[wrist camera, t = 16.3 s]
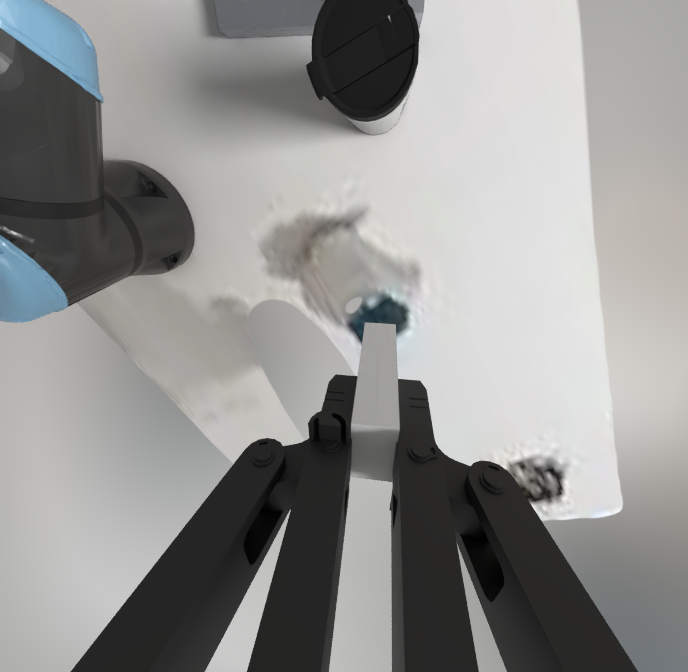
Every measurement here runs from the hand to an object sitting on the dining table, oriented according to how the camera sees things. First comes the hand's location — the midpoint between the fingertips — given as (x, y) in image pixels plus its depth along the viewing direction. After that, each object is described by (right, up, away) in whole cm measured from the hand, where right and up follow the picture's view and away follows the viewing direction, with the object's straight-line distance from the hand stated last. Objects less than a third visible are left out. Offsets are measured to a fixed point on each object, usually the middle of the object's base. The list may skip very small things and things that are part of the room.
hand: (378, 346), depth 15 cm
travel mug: (+2, +27, +18) cm, 33 cm away
